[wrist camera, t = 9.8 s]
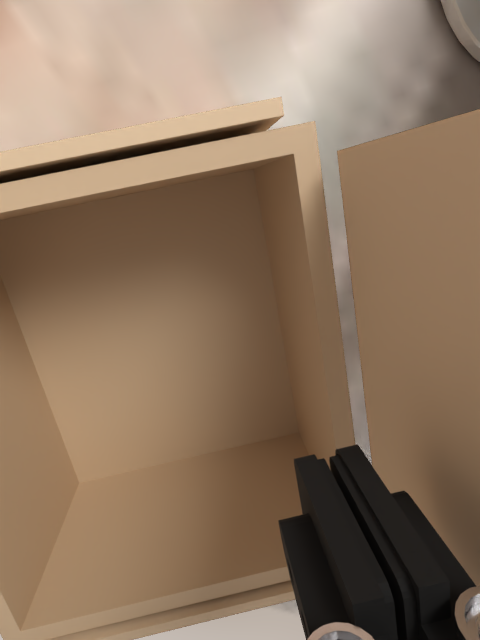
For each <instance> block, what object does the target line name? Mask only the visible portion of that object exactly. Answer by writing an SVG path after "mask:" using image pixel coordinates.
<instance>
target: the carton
mask: <svg viewBox="0 0 480 640" xmlns="http://www.w3.org/2000/svg"><path fill="white" fill-rule="evenodd" d="M283 116H284V111H283V104H282V97H278V98H273V99H268V100H263V101H257V102H252V103H247V104H242V105H237V106H232V107H227V108H222V109H217V110H212V111H206V112H201V113H196V114H191V115H186V116H181V117H176V118H171V119H166V120H161V121H155V122H150V123H145V124H140V125H135V126H130V127H125V128H120V129H115V130H110V131H104V132H99V133H94V134H89V135H84V136H79V137H74V138H69V139H64V140H59V141H53V142H48V143H43V144H38V145H33V146H28V147H23V148H18V149H13V150H8V151H2V152H0V634H1V636H2V638H3V640H133V639H137V638H141V637H145V636H149V635H153V634H157V633H161V632H165V631H170V630H173V629H178V628H182V627H186V626H190V625H194V624H198V623H201V622H206V621H210V620H214V619H218V618H222V617H226V616H230V615H234V614H238V613H242V612H247V611H251V610H255V609H259V608H263V607H267V606H271V605H275V604H279V603H283V602H287V601H291V600H295V595H294V591H293V587H292V583H291V579H290V575H289V571H288V567H287V563H286V558H285V554H284V549H283V544H282V539H281V534H280V529H279V523H278V520H282V519H286V518H290V517H294V516H299V515H303V514H302V508H301V502H300V496H299V490H298V484H297V478H296V472H295V467H294V459H296V458H300V457H304V456H309V455H313V454H314V455H315V456H316V457H317V459H322V458H324V459H325V460H326V462H327V464H328V466H329V468H330V462H329V457H331V456H335V451H336V449H339V448H344V447H348V446H352V445H355V438H354V430H353V422H352V413H351V405H350V397H349V389H348V381H347V373H346V365H345V357H344V349H343V341H342V333H341V325H340V317H339V309H338V301H337V293H336V285H335V277H334V269H333V261H332V253H331V245H330V237H329V229H328V221H327V213H326V205H325V197H324V189H323V181H322V173H321V165H320V157H319V148H318V140H317V132H316V124H315V121H313V122H308V123H303V124H298V125H293V126H288V127H283V128H278V129H273V130H268V131H266V130H267V129H269V128H270V127H271V126H272V125H273V124H274V123H276V122H277V121H278V120H279V119H280V118H281V117H283ZM330 470H331V469H330Z"/></svg>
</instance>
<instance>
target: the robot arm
mask: <svg viewBox="0 0 480 640" xmlns="http://www.w3.org/2000/svg"><path fill="white" fill-rule="evenodd" d="M441 3H442V6H443V9H444V12H445V15H446V18H447V20H448V22H449V24H450V26H451V28H452V29H453V31H454V33H455V35H456V36H457V38H458V40H459V41H460V43H461V44H462V45H463V46H464V47H465V48H466V49H467V51H468V52H469V53H470V54H471V55H472V56H473V57H474V58H475V59H476V60H478V61H479V62H480V0H441ZM329 462H330V468H329V466H328V464H327V462H326V460H325V459H324V458H322V459H317V457H316V456H315V455H314V454H313V455H309V456H304V457H300V458H296V459H294V467H295V472H296V478H297V484H298V490H299V496H300V502H301V508H302V514H303V515H299V516H294V517H290V518H286V519H282V520H278V523H279V529H280V534H281V539H282V544H283V549H284V554H285V558H286V563H287V567H288V571H289V575H290V579H291V583H292V587H293V591H294V595H295V599H296V602H297V606H298V610H299V614H300V618H301V621H302V625H303V629H304V632H305V636H306V640H480V586H476V585H475V583H474V582H473V581H472V579H471V578H470V576H469V575H468V574H467V572H466V571H465V570H464V568H463V567H462V566H461V564H460V563H459V562H458V560H457V559H456V557H455V556H454V555H453V553H452V552H451V551H450V549H449V548H448V547H447V545H446V544H445V543H444V541H443V540H442V538H441V537H440V536H439V534H438V533H437V532H436V530H435V529H434V528H433V526H432V525H431V523H430V522H429V521H428V519H427V518H426V517H425V515H424V514H423V513H422V511H421V510H420V509H419V507H418V506H417V504H416V503H415V502H414V500H413V499H412V498H411V496H410V495H409V494H408V493H407V492H405V491H399V492H395V493H390V492H389V490H388V489H387V487H386V486H385V484H384V483H383V481H382V480H381V478H380V477H379V475H378V474H377V472H376V471H375V470H374V468H373V467H372V465H371V464H370V462H369V461H368V459H367V458H366V456H365V455H364V453H363V452H362V450H361V449H360V447H359V446H358V445H352V446H348V447H344V448H339V449H336V451H335V456H331V457H329ZM330 469H331V470H330Z"/></svg>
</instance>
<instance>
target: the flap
mask: <svg viewBox="0 0 480 640" xmlns="http://www.w3.org/2000/svg"><path fill="white" fill-rule="evenodd" d="M337 154H338V163H339V172H340V181H341V190H342V199H343V208H344V217H345V226H346V235H347V244H348V253H349V262H350V271H351V280H352V289H353V298H354V306H355V315H356V324H357V333H358V342H359V351H360V360H361V369H362V378H363V387H364V396H365V405H366V414H367V423H368V432H369V441H370V450H371V459H372V467H373V468H374V470H375V471H376V472H377V474H378V475H379V477H380V478H381V480H382V481H383V483H384V484H385V486H386V487H387V489H388V490H389V492H390V493H395V492H399V491H405V492H407V493H408V494H409V495H410V496H411V498H412V499H413V500H414V502H415V503H416V504H417V506H418V507H419V509H420V510H421V511H422V513H423V514H424V515H425V517H426V518H427V519H428V521H429V522H430V523H431V525H432V526H433V528H434V529H435V530H436V532H437V533H438V534H439V536H440V537H441V538H442V540H443V541H444V543H445V544H446V545H447V547H448V548H449V549H450V551H451V552H452V553H453V555H454V556H455V557H456V559H457V560H458V562H459V563H460V564H461V566H462V567H463V568H464V570H465V571H466V572H467V574H468V575H469V576H470V578H471V579H472V581H473V582H474V583H475V585H476V586H480V109H478V110H474V111H471V112H468V113H464V114H461V115H457V116H454V117H451V118H447V119H444V120H441V121H437V122H434V123H430V124H427V125H424V126H420V127H417V128H414V129H410V130H407V131H403V132H400V133H397V134H393V135H390V136H386V137H383V138H380V139H376V140H373V141H370V142H366V143H363V144H359V145H356V146H353V147H349V148H346V149H342V150H339V151H337Z"/></svg>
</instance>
